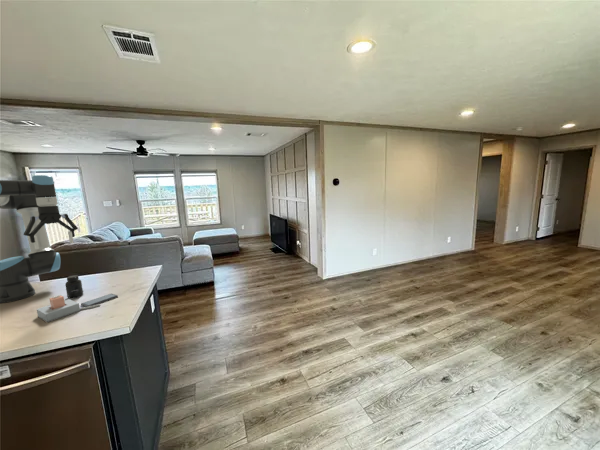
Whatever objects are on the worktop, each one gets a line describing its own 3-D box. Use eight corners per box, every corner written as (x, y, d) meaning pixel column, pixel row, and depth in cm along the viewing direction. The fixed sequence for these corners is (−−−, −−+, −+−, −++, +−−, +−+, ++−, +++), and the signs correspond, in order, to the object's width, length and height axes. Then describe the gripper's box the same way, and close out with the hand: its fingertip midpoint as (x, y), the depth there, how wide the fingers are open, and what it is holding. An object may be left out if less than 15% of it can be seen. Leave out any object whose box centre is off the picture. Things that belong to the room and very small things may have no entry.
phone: (81, 305, 128) (80, 303, 128) (111, 295, 140) (111, 293, 140) (87, 308, 125) (86, 306, 125) (117, 297, 137) (117, 295, 137)
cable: (79, 310, 122) (78, 308, 122) (79, 309, 123) (79, 308, 123) (100, 306, 126) (100, 304, 126) (100, 305, 127) (100, 303, 127)
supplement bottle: (73, 299, 136) (70, 278, 135) (64, 298, 138) (60, 278, 136) (86, 294, 143) (83, 274, 141) (77, 293, 145) (74, 274, 143)
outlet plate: (38, 316, 117) (36, 309, 117) (70, 306, 128) (68, 299, 127) (47, 322, 112) (45, 314, 111) (80, 310, 122) (78, 303, 121)
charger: (52, 313, 119) (49, 297, 118) (63, 310, 122) (60, 294, 121) (55, 315, 117) (52, 298, 116) (66, 311, 120) (63, 295, 119)
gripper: (13, 207, 113) (22, 251, 116) (81, 204, 134) (87, 241, 137) (9, 207, 116) (17, 250, 119) (75, 204, 138) (81, 240, 141)
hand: (55, 245), depth 128 cm, fingers open, 13 cm apart
